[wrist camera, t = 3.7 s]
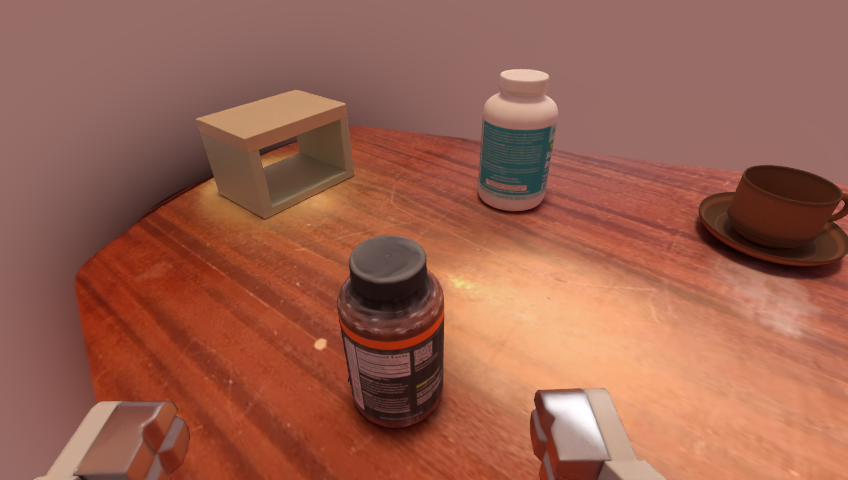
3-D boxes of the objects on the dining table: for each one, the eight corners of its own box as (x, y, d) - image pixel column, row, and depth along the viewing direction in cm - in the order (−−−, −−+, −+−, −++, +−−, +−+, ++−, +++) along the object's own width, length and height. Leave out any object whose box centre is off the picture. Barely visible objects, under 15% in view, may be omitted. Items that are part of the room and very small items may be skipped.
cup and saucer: (759, 201, 49) (785, 149, 45) (873, 266, 39) (917, 206, 36) (666, 216, 47) (686, 162, 43) (764, 289, 37) (799, 228, 34)
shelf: (264, 219, 47) (244, 138, 42) (219, 193, 51) (195, 118, 46) (354, 175, 55) (346, 103, 50) (307, 157, 60) (296, 89, 54)
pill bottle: (554, 211, 48) (578, 83, 40) (487, 217, 47) (498, 87, 39) (529, 179, 54) (546, 63, 46) (470, 184, 53) (477, 66, 45)
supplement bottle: (377, 346, 32) (365, 214, 26) (455, 370, 31) (461, 235, 24) (335, 413, 28) (306, 275, 21) (422, 447, 26) (419, 306, 20)
